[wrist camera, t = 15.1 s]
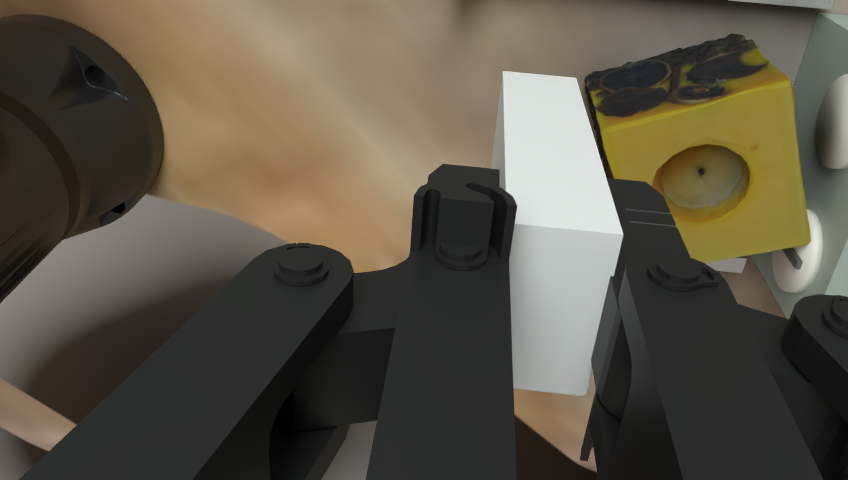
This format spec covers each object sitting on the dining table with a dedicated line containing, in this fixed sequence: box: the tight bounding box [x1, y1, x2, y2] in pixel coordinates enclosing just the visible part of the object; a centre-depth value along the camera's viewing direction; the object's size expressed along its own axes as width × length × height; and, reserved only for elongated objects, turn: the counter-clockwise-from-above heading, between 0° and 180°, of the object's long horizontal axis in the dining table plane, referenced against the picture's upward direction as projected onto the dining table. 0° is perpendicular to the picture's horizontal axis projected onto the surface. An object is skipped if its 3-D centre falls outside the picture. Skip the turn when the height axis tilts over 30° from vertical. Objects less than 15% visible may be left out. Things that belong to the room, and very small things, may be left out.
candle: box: [585, 34, 811, 264], centre depth 44 cm, size 10×10×10 cm
